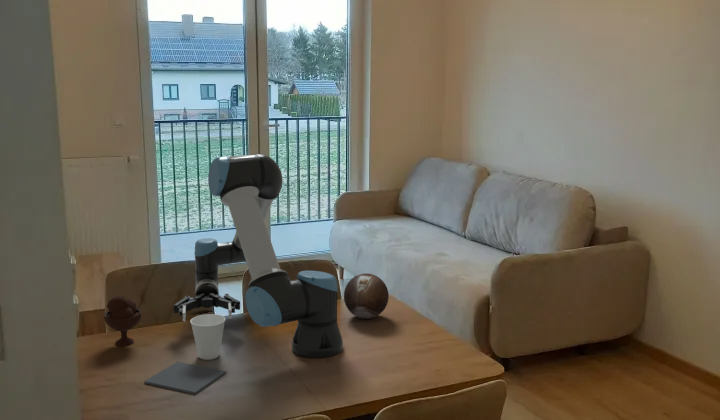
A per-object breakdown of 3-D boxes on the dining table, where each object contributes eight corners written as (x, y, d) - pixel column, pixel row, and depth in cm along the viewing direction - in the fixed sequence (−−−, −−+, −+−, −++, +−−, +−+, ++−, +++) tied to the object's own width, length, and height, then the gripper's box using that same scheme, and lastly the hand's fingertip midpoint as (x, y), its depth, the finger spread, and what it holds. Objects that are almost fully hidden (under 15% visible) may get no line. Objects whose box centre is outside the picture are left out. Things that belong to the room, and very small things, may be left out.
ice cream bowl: (136, 350, 204) (134, 301, 202) (99, 349, 205) (96, 300, 202) (148, 336, 215) (146, 290, 212) (112, 336, 215) (109, 289, 212)
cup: (233, 353, 203) (232, 317, 201) (212, 365, 194) (211, 328, 192) (205, 347, 207) (204, 312, 205) (184, 359, 198) (182, 322, 196)
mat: (226, 373, 189) (225, 371, 189) (195, 394, 177) (195, 392, 176) (177, 363, 195) (177, 361, 195) (144, 383, 183) (144, 381, 182)
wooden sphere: (343, 325, 227) (343, 280, 224) (344, 309, 242) (344, 268, 239) (389, 325, 227) (390, 281, 224) (387, 310, 242) (387, 268, 239)
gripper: (245, 302, 232) (249, 325, 212) (168, 306, 227) (164, 330, 207) (245, 280, 231) (249, 301, 211) (167, 284, 225) (163, 306, 205)
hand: (207, 315), depth 209 cm, fingers open, 13 cm apart
